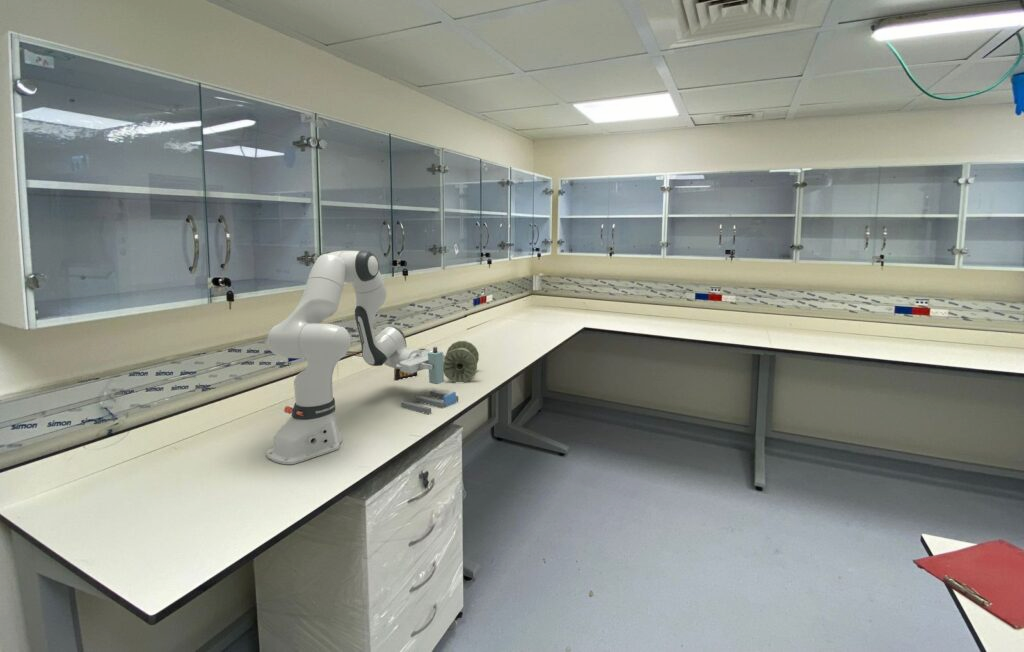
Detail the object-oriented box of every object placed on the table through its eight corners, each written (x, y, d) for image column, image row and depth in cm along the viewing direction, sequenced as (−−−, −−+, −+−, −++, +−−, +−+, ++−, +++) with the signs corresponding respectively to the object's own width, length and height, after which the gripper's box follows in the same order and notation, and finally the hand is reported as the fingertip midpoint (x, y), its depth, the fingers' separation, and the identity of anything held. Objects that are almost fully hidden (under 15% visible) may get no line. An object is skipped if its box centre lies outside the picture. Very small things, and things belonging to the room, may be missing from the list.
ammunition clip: (415, 374, 237) (414, 349, 235) (417, 375, 236) (416, 350, 234) (394, 379, 231) (392, 353, 229) (396, 380, 229) (394, 354, 227)
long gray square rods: (428, 414, 188) (428, 404, 187) (401, 407, 196) (400, 397, 195) (458, 401, 202) (458, 391, 201) (432, 394, 210) (431, 385, 209)
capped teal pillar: (437, 384, 198) (435, 349, 195) (429, 382, 200) (427, 347, 197) (444, 381, 201) (442, 347, 198) (436, 380, 203) (434, 345, 201)
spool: (477, 382, 225) (476, 349, 222) (442, 383, 225) (441, 349, 222) (478, 371, 241) (478, 340, 238) (446, 372, 241) (445, 341, 238)
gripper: (391, 358, 197) (418, 363, 190) (428, 347, 214) (454, 351, 206) (392, 374, 199) (419, 380, 191) (429, 361, 215) (454, 366, 208)
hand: (437, 365), depth 199 cm, fingers closed on capped teal pillar, 4 cm apart
